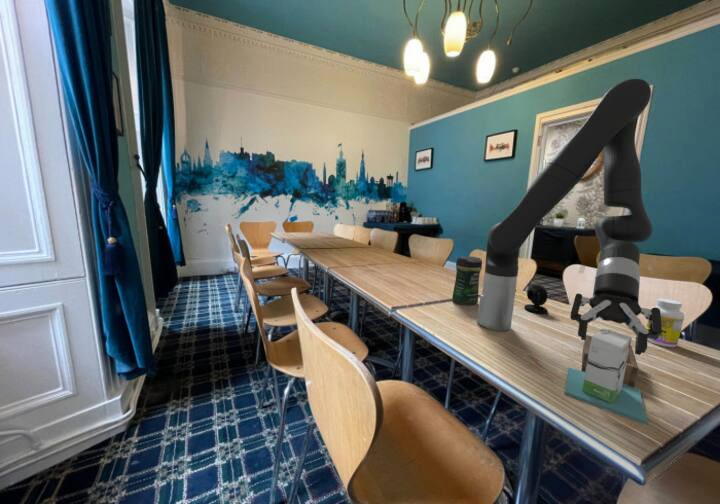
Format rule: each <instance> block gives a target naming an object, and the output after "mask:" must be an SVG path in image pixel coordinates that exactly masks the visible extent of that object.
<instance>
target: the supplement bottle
mask: <svg viewBox="0 0 720 504" xmlns="http://www.w3.org/2000/svg"><path fill="white" fill-rule="evenodd" d="M656 303H657V305H656V306H653V307H651V308H650V309H652V308H654V307H656V308H659V309H660V314H661V327H662V333H661V334H660V336H659V338H658V339H653V338H648V339H647V342H650V343H652V344H654V345H657V346H660V347H664V348H665V347H666V348H676V347H677V346H678V344H679V339H680V336H681V331H682V327H683V324H684V321H685V313H684V312H682V311H680V309H681V308H682V305H683V304H682V302H681V301H677V300H674V299H668V298H661V297H660V298H657V301H656ZM645 328H646V329H650V328H649V320H647V324H646V327H645Z"/></svg>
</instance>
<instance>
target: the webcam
mask: <svg viewBox="0 0 720 504" xmlns="http://www.w3.org/2000/svg"><path fill="white" fill-rule="evenodd" d="M526 297H527V299H528V300H530V302H531V304H525V305H524V307H523V308H524V309H525V310H526V311H527V312H528V313H533V314H538V315H544V314H545V315H546V314H547V313H548V312H549V311H548V308H547V307H545V306H543V305H544V304H545V303H547V301H548V292H547V289H546V288H545V287H544V286H542V285H541V284H533V285H532V286H531V287H530V288H529V289H528V290H527V291H526Z"/></svg>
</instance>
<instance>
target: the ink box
mask: <svg viewBox="0 0 720 504" xmlns="http://www.w3.org/2000/svg"><path fill="white" fill-rule="evenodd" d="M591 336H592V338H591V343H590V348H589V354H588V360H587V366H586V371H585V377H584V383H583V389H582V390H583V391H584V392H586V393H588V394H591V395H593V396H595V397H598V398H600V399H602V400H605V401H607V402H609V403H613V401H614V400H615V398H616V397H617V395H618V394H619V392H620V391H621V389H622V384H623V379H624V374H625V369H626V364H627V359H628V354H629V349H630V346H631V342H632V338H633V337H632V336H629V335H625V334H622V333H619V332H616V331H613V330H610V329H607V328H601V329H600V330H599V331H597V332H595V333H594V334H593V335H591Z"/></svg>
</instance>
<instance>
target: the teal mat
mask: <svg viewBox="0 0 720 504" xmlns="http://www.w3.org/2000/svg"><path fill="white" fill-rule="evenodd" d="M584 377H585V372H584V371H582V370H580V369H579V370H578V369H577V368H576V369H575V368H573V367H569V366H568V368H567V374H566V380H565V387H564V394H563V395H565V396H567V397H570V398H573V399H577V400H579V401H582V402H584V403H588V404H589V405H593V406H594V407H598V408H601V409H603V410H606V411H608V412H611V413H614V414H617V415H620V416H623V417H625V418H627V419H631V420H633V421H636V422H639V423H641V424H644V425H648V423H649V419H648V417H647V414H646V413H647V412H646V410H645V406H644V402H643V399H642V398H643V397H642V396H641V391H640V389H639V388H637V387H632V386H628V385H625V384H622V389H621V391H620V392H619V394H618V395H617V397H616V398H615V400H614V401H613V403H609V402H607V401H605V400H602V399H600V398H598V397H595V396H593V395H591V394H588V393H586V392H584V391H583V390H582V389H583V383H584Z"/></svg>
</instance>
